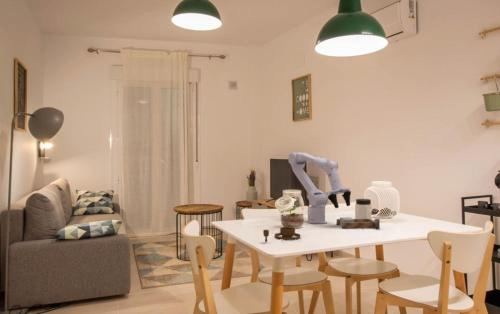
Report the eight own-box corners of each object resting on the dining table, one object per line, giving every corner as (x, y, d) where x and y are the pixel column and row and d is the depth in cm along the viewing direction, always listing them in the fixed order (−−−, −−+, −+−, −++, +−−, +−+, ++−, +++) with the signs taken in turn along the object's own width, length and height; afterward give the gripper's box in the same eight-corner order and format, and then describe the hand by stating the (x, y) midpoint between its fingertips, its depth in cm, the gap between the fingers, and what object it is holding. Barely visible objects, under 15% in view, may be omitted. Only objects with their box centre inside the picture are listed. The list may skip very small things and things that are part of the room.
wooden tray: (344, 229, 210) (344, 220, 210) (336, 224, 224) (336, 215, 224) (380, 229, 211) (380, 219, 211) (370, 224, 225) (370, 215, 225)
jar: (365, 222, 232) (365, 200, 231) (352, 220, 238) (352, 199, 237) (373, 220, 238) (373, 199, 238) (361, 218, 244) (361, 198, 244)
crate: (343, 228, 216) (343, 219, 216) (339, 225, 222) (339, 217, 222) (354, 227, 216) (354, 219, 216) (350, 225, 222) (350, 217, 222)
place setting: (307, 242, 185) (307, 228, 185) (264, 244, 180) (264, 231, 180) (292, 234, 202) (292, 222, 202) (253, 236, 197) (253, 224, 197)
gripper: (328, 181, 216) (336, 207, 212) (350, 178, 222) (358, 202, 218) (321, 185, 222) (328, 210, 218) (342, 182, 228) (350, 206, 224)
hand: (343, 206), depth 218 cm, fingers open, 7 cm apart
